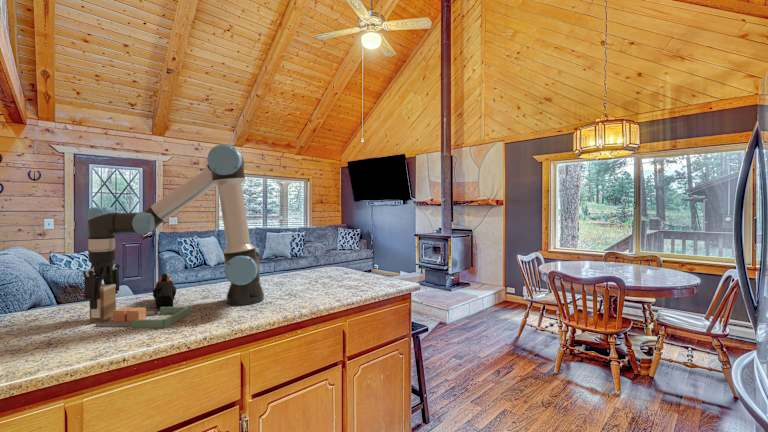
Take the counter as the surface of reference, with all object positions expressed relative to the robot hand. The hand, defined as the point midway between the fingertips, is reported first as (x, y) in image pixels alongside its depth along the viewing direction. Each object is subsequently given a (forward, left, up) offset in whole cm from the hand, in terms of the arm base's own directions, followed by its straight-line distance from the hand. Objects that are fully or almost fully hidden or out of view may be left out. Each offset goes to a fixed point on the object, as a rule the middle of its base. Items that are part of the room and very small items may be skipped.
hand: (103, 314), depth 127 cm
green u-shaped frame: (-21, 0, -2) cm, 21 cm away
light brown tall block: (0, 0, -2) cm, 2 cm away
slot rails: (-9, 0, -2) cm, 9 cm away
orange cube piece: (-12, 0, -2) cm, 12 cm away
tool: (-10, -19, -2) cm, 22 cm away
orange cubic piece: (-7, 0, -2) cm, 7 cm away
